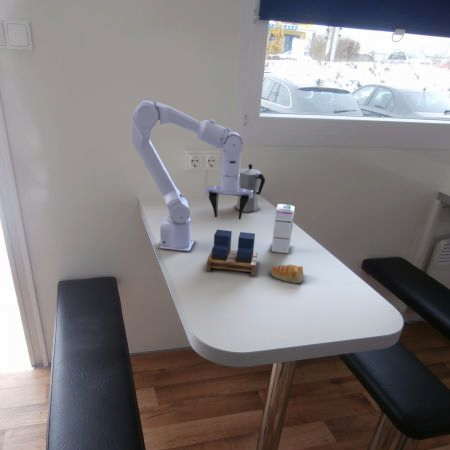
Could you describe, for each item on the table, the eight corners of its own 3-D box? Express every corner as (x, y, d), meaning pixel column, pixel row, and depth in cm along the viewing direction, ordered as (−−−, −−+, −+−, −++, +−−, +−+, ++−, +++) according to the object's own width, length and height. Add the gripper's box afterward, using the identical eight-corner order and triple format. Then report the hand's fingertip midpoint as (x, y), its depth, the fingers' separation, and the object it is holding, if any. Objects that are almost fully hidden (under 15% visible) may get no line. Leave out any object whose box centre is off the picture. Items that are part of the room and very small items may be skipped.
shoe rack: (206, 270, 119) (207, 260, 117) (212, 258, 127) (212, 247, 125) (254, 276, 118) (255, 265, 116) (256, 263, 126) (257, 252, 124)
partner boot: (238, 251, 123) (240, 231, 120) (253, 253, 123) (255, 233, 120) (236, 261, 117) (237, 240, 114) (251, 263, 117) (253, 242, 114)
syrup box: (288, 253, 133) (294, 210, 125) (270, 251, 133) (275, 208, 126) (289, 246, 137) (295, 205, 130) (272, 244, 138) (277, 203, 131)
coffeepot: (228, 205, 171) (231, 161, 162) (245, 202, 176) (249, 159, 167) (252, 216, 161) (256, 170, 152) (269, 212, 166) (274, 167, 157)
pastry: (269, 279, 116) (270, 268, 114) (271, 269, 122) (273, 258, 120) (302, 284, 115) (304, 272, 113) (303, 274, 121) (305, 262, 119)
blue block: (216, 249, 124) (217, 229, 121) (230, 251, 124) (231, 231, 120) (211, 259, 118) (212, 238, 115) (226, 260, 118) (227, 240, 114)
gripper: (255, 173, 126) (251, 215, 133) (209, 169, 127) (207, 211, 134) (253, 179, 120) (249, 222, 127) (205, 174, 121) (203, 218, 128)
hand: (227, 217), depth 130 cm, fingers open, 7 cm apart
